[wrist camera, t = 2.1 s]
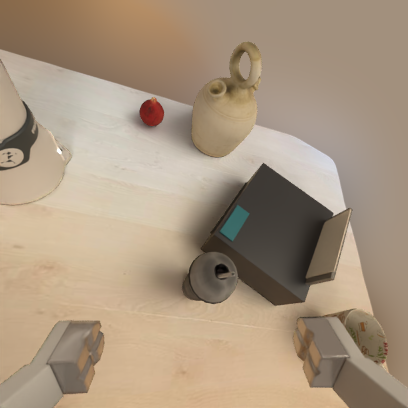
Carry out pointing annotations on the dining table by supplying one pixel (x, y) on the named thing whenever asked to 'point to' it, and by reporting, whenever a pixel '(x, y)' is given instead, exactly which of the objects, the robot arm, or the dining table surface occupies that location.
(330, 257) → the printer
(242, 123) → the jug
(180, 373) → the dining table surface
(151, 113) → the red pomegranate
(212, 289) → the beverage cup
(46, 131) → the robot arm
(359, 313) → the mug
